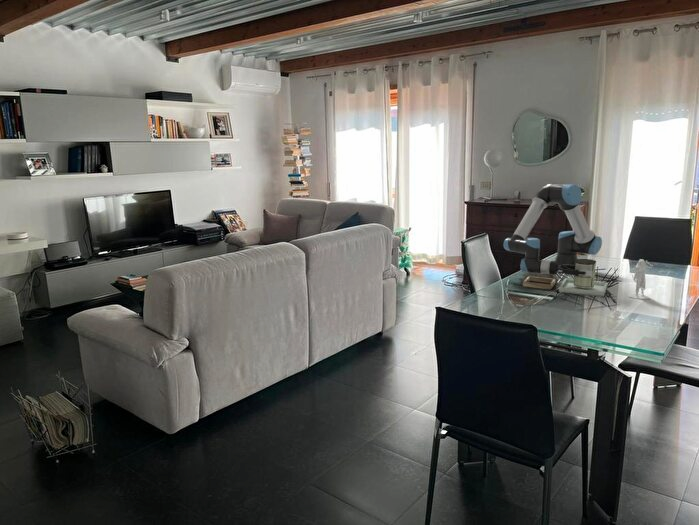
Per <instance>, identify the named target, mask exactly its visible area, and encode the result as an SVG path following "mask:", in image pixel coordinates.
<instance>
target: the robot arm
mask: <svg viewBox="0 0 699 525" xmlns="http://www.w3.org/2000/svg"><path fill="white" fill-rule="evenodd" d="M582 195H583V194H582V190H581V188H580V187H579V186H578V185H576V184H573V183H554V182H552V183H548V184H546V185H544V186H543V187H541V188H540V189H539V190H538V191H537V192H536V193H535V194H534V196H533V197H532V199H531V201H532V202H531V204H530V206H529V208H528V209H527V211H526V213H525V214H524V216H523V218H522V219H521V220H520V223H519V224H518V225H517V228H516V229H515V230H514V233H513V234H512V236H511V237H507V238H505V239H504V241H503V249H505V250H506V251H508V252H511V253H512V252H513V253H519V254H523V255H525V256H524V258H522V259H521V261H520V266H519V267H520V270H521V271H522V272H524V273H532V274H535V273H536V274H543V275H546V274H547V275H552V276H553V275H554V276H556V275H558V274H565V275H570V276H574V275H575V276H579V275H585V276H592V273H593V271H588V270H575V260H576V259H579V257H578V254H583V255H588V256H590V255H591V256H596V255H597V254H598V253H599V252H600V250H601V248H602V245H603V244H602V243H603V240H602V237H601V236H599V235H596V234H595V232H594V231H593V230H592V229H590V227H589V225H588V222H587V219H586V217H585V215H584V213H583V211H582V209H581V206H580V204H581V201H582V197H583V196H582ZM551 204H558V207H559V209H560V210H562V211H563V212H564V214H565V215H566V218H567V220H568V221H569V224H570V227H571V229H572V230H567V231H566V230H565V231H560V232H559V234H558V238H557V240H558V241H557V254H556V257H555V259H554V260H551V261H550V260H547V259H545V260H544V259H540V252H541V240H540V238H536V237H528V236H529V234H530V233H531V231H532V229H533V228H534V226H535V224H536V223H537V221H538V220H539V218H540V216H541V214H543V211H544V209H546V208H547V207H548V206H549V205H551Z"/></svg>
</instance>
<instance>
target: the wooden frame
mask: <svg viewBox="0 0 699 525" xmlns="http://www.w3.org/2000/svg"><path fill="white" fill-rule="evenodd" d="M556 282H557V281H556V278H550V277H549V278H548V277H538V276H532V275H531V276H530V275H529V276H528V277H526V278H525V279H524V281H523V282H522V287H525V288H535V289H542V290H543V289H544V290H552V289H553V287H554V286H555V284H556Z"/></svg>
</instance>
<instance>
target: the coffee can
mask: <svg viewBox="0 0 699 525" xmlns="http://www.w3.org/2000/svg"><path fill="white" fill-rule="evenodd" d="M596 264H597V261H596V260H595V259H590V258H578V259H576V260H575V270H588V271H593V273H592V276H585V275H579V276H575V275H573V279H574V286H575V287H579V288H593V287H594V281H595V277H596Z"/></svg>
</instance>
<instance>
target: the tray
mask: <svg viewBox="0 0 699 525" xmlns="http://www.w3.org/2000/svg"><path fill="white" fill-rule="evenodd" d="M607 290H608V282H604V281H595V280H594V287H593V288H579V287H575V286H574V278H564V279H563V280H562V281H561V284H560V285H559V287H558V293H563V294H564V293H566V294H572V295H573V294H575V295H583V296H591V297H592V296H593V297H602V298H603V297H605V295H606V292H607Z"/></svg>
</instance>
